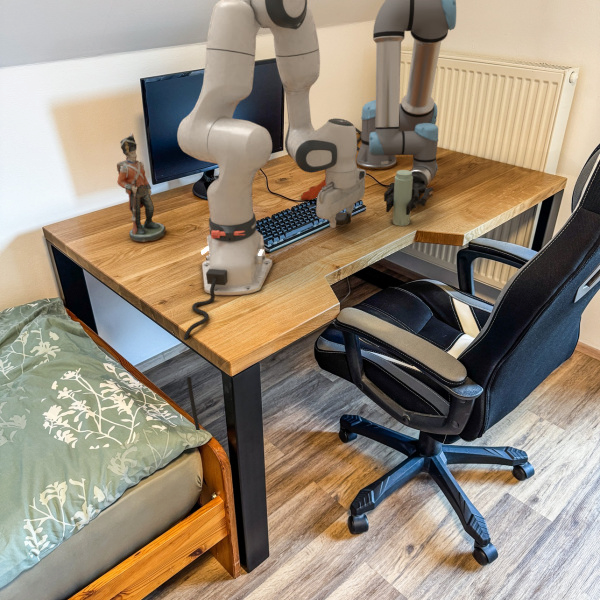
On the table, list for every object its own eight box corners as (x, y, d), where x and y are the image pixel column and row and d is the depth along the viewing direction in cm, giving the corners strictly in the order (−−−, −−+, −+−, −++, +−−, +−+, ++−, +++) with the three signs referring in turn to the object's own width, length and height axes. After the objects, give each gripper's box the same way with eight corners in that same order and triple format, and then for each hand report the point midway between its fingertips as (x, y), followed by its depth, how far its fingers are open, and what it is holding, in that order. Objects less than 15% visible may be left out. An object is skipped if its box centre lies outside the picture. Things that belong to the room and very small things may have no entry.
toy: (355, 194, 190) (356, 151, 182) (309, 205, 184) (308, 160, 176) (337, 183, 200) (337, 141, 192) (293, 193, 193) (291, 150, 186)
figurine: (157, 243, 164) (137, 141, 148) (123, 241, 166) (100, 140, 150) (171, 228, 173) (154, 130, 157) (139, 226, 175) (119, 129, 159)
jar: (411, 225, 168) (414, 175, 160) (393, 226, 168) (396, 175, 160) (408, 218, 173) (411, 169, 164) (391, 219, 173) (393, 169, 164)
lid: (338, 215, 171) (338, 210, 170) (355, 220, 167) (355, 215, 166) (326, 222, 167) (326, 217, 166) (343, 227, 163) (343, 222, 162)
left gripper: (329, 191, 151) (329, 237, 159) (369, 169, 165) (367, 213, 172) (310, 186, 155) (311, 232, 162) (351, 165, 168) (350, 208, 175)
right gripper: (444, 196, 180) (427, 225, 162) (388, 189, 186) (367, 217, 168) (446, 173, 176) (430, 200, 158) (389, 167, 182) (367, 193, 164)
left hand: (340, 222), depth 167 cm, fingers closed on lid, 6 cm apart
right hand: (397, 209), depth 163 cm, fingers closed on jar, 5 cm apart
